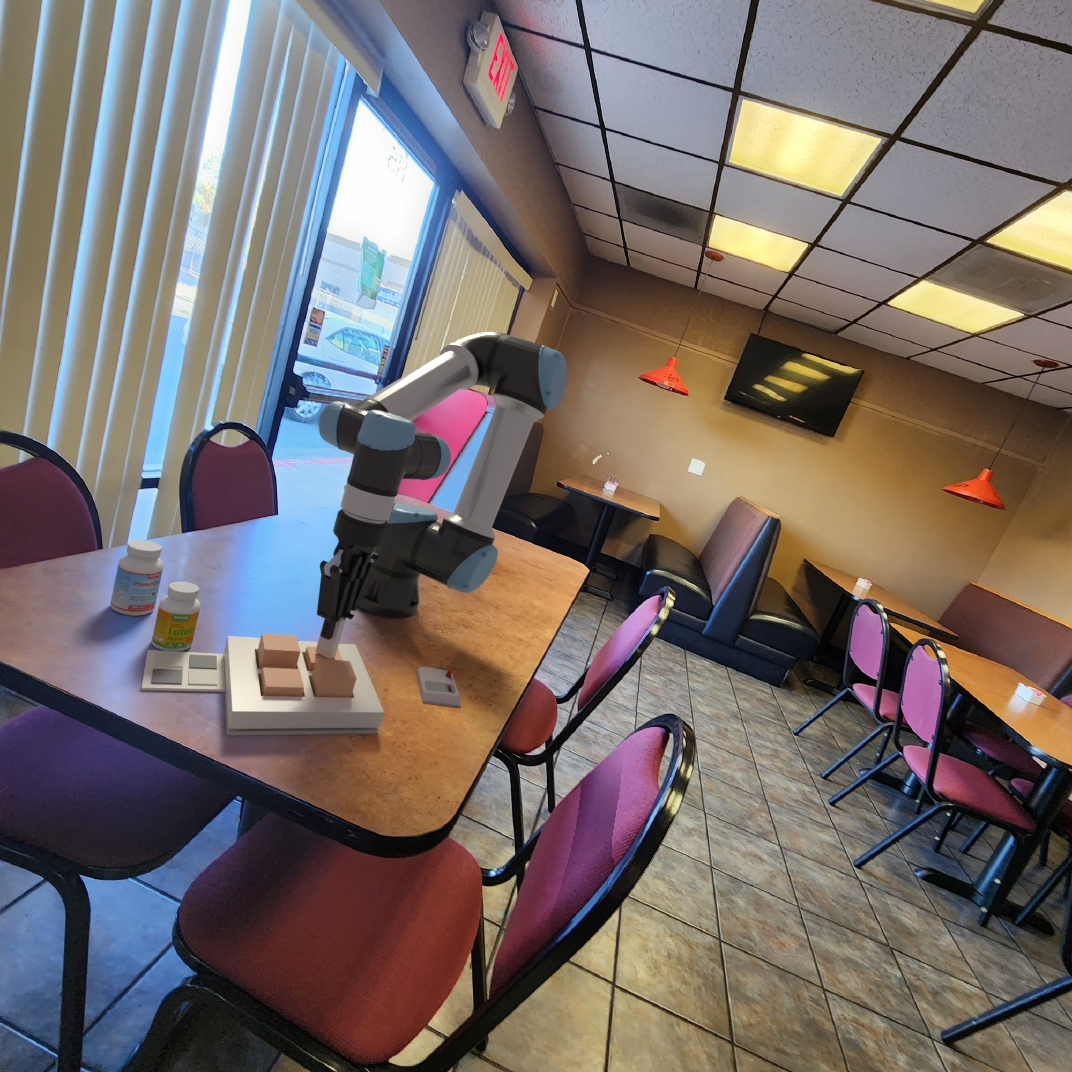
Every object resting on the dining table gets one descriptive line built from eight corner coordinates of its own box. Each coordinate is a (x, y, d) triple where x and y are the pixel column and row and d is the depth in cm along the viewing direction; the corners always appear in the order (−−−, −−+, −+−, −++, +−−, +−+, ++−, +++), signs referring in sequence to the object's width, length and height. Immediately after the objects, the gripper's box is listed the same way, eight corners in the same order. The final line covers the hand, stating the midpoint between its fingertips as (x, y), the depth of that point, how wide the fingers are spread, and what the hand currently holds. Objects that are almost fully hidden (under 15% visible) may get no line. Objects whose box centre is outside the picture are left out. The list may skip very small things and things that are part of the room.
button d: (333, 666, 96) (338, 648, 96) (338, 683, 92) (344, 664, 92) (301, 665, 94) (306, 646, 93) (305, 682, 90) (311, 662, 89)
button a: (293, 688, 87) (299, 668, 86) (298, 708, 83) (304, 687, 82) (257, 688, 84) (262, 667, 84) (260, 708, 80) (265, 686, 79)
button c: (344, 680, 90) (349, 660, 90) (350, 698, 86) (356, 678, 86) (310, 678, 88) (316, 659, 87) (315, 697, 84) (321, 677, 83)
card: (222, 656, 91) (223, 652, 91) (224, 692, 83) (225, 688, 83) (147, 652, 86) (148, 648, 86) (141, 690, 78) (141, 686, 78)
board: (350, 662, 102) (355, 644, 101) (377, 733, 86) (384, 712, 85) (222, 656, 91) (227, 635, 91) (226, 735, 75) (232, 711, 74)
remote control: (422, 711, 96) (428, 696, 96) (412, 664, 110) (417, 650, 110) (461, 716, 99) (466, 701, 98) (446, 669, 113) (450, 655, 112)
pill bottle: (132, 620, 93) (145, 555, 90) (100, 606, 93) (112, 541, 91) (163, 610, 98) (176, 548, 96) (132, 597, 99) (144, 535, 97)
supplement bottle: (162, 655, 86) (175, 596, 85) (144, 638, 89) (156, 580, 87) (198, 648, 91) (211, 592, 89) (180, 633, 94) (192, 578, 92)
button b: (291, 654, 92) (296, 635, 92) (295, 671, 88) (300, 651, 87) (256, 652, 90) (261, 632, 89) (259, 669, 86) (264, 649, 85)
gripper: (366, 503, 94) (329, 633, 99) (316, 509, 82) (277, 657, 87) (406, 519, 93) (367, 650, 98) (362, 528, 80) (320, 678, 85)
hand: (325, 653), depth 92 cm, fingers closed
